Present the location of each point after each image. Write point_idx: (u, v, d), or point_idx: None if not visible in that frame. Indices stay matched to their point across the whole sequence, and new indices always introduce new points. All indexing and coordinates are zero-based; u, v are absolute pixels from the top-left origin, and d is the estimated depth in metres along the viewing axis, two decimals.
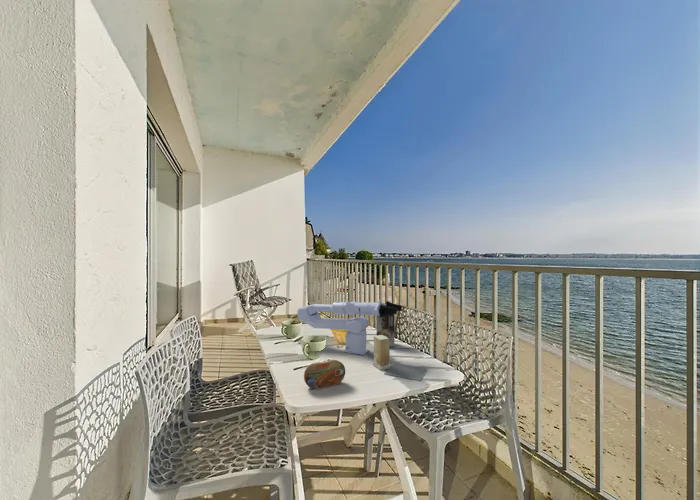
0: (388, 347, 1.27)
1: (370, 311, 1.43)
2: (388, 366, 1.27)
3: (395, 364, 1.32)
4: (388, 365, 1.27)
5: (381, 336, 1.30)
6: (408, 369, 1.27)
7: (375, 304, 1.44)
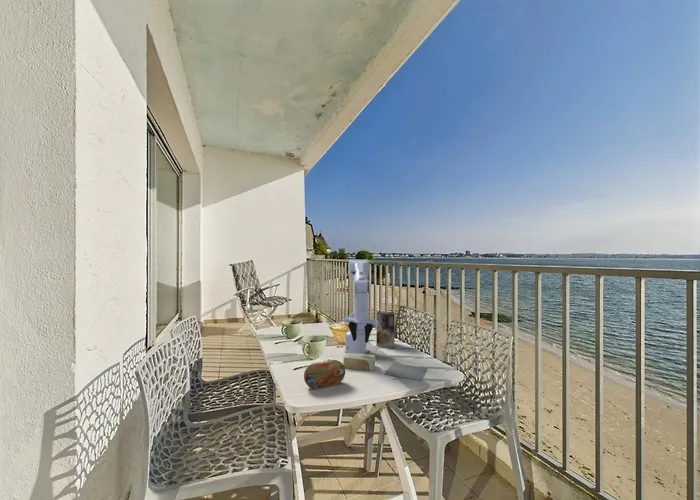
0: (352, 359, 1.27)
1: None
2: (370, 361, 1.26)
3: (395, 364, 1.32)
4: (369, 361, 1.26)
5: None
6: (408, 369, 1.27)
7: (355, 317, 1.32)
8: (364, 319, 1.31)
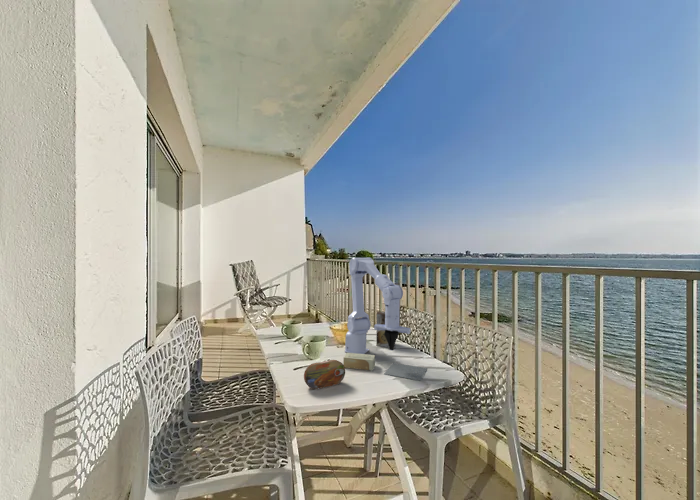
0: (352, 359, 1.27)
1: None
2: (370, 361, 1.26)
3: (395, 364, 1.32)
4: (369, 361, 1.26)
5: None
6: (408, 369, 1.27)
7: (386, 324, 1.26)
8: (396, 326, 1.25)
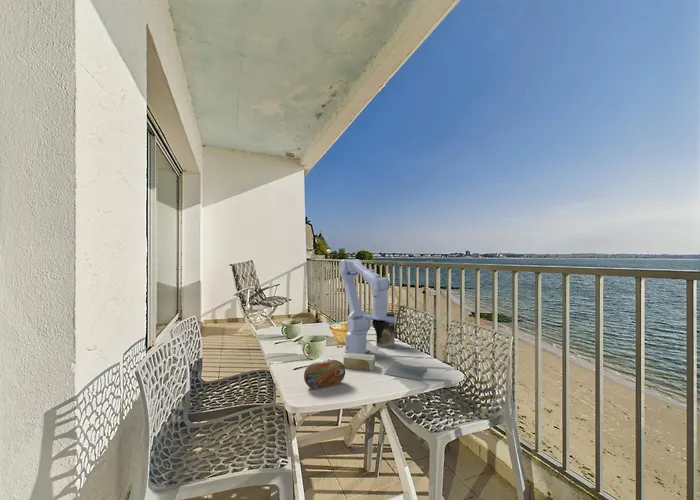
0: (352, 359, 1.27)
1: None
2: (370, 361, 1.26)
3: (395, 364, 1.32)
4: (369, 361, 1.26)
5: None
6: (408, 369, 1.27)
7: (374, 314, 1.34)
8: (383, 316, 1.33)
